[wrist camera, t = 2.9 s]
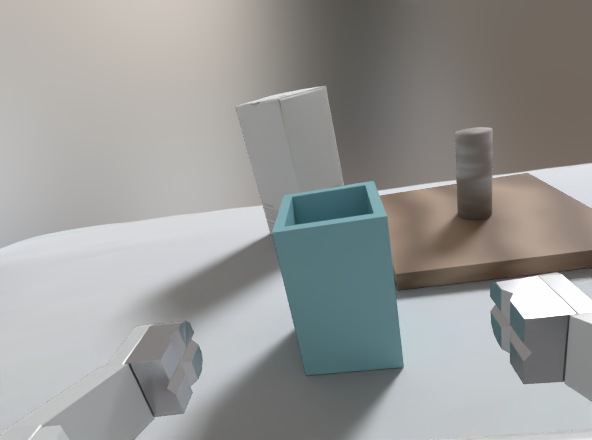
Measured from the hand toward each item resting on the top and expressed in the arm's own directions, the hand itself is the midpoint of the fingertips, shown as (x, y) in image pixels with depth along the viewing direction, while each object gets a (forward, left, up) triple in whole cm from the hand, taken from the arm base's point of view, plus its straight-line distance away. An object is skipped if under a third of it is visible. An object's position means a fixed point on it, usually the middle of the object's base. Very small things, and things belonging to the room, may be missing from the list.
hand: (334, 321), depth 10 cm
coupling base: (+13, +26, -11) cm, 31 cm away
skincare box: (-4, +31, -11) cm, 34 cm away
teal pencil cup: (0, +12, -11) cm, 17 cm away
